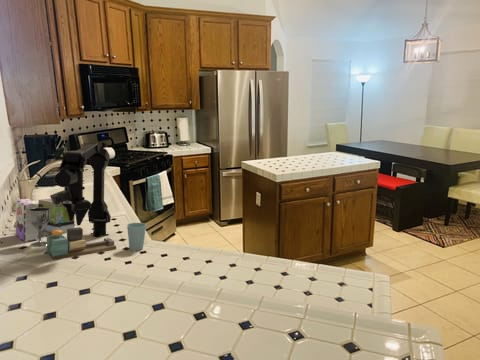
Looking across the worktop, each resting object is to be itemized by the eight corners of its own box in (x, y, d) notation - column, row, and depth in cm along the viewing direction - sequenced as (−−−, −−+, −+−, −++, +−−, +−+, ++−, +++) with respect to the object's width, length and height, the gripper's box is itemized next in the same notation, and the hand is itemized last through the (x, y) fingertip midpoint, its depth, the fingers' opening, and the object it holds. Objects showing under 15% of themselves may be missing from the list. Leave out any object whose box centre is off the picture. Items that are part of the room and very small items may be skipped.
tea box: (75, 231, 174) (75, 200, 172) (55, 235, 165) (55, 203, 164) (57, 225, 182) (57, 196, 180) (37, 229, 173) (37, 199, 171)
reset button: (50, 233, 138) (50, 230, 138) (60, 232, 140) (60, 229, 140) (53, 236, 135) (53, 232, 135) (63, 234, 138) (63, 231, 137)
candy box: (15, 235, 161) (14, 199, 160) (29, 233, 166) (29, 198, 164) (24, 242, 152) (23, 204, 150) (39, 240, 156) (39, 203, 154)
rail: (46, 252, 141) (46, 235, 140) (106, 243, 157) (106, 227, 156) (54, 259, 133) (54, 241, 133) (116, 249, 150) (116, 232, 149)
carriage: (63, 247, 143) (63, 227, 143) (79, 245, 147) (79, 226, 147) (69, 252, 138) (69, 231, 137) (85, 249, 142) (85, 229, 142)
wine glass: (35, 248, 145) (35, 211, 144) (25, 244, 149) (24, 208, 148) (54, 243, 152) (54, 209, 150) (44, 240, 156) (43, 206, 154)
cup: (142, 245, 157) (143, 222, 156) (147, 250, 150) (148, 226, 149) (125, 247, 153) (125, 223, 152) (129, 252, 146) (129, 227, 145)
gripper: (45, 181, 141) (45, 220, 143) (60, 188, 128) (60, 230, 129) (74, 180, 149) (74, 217, 151) (92, 186, 135) (91, 227, 137)
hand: (74, 223), depth 142 cm, fingers open, 8 cm apart
